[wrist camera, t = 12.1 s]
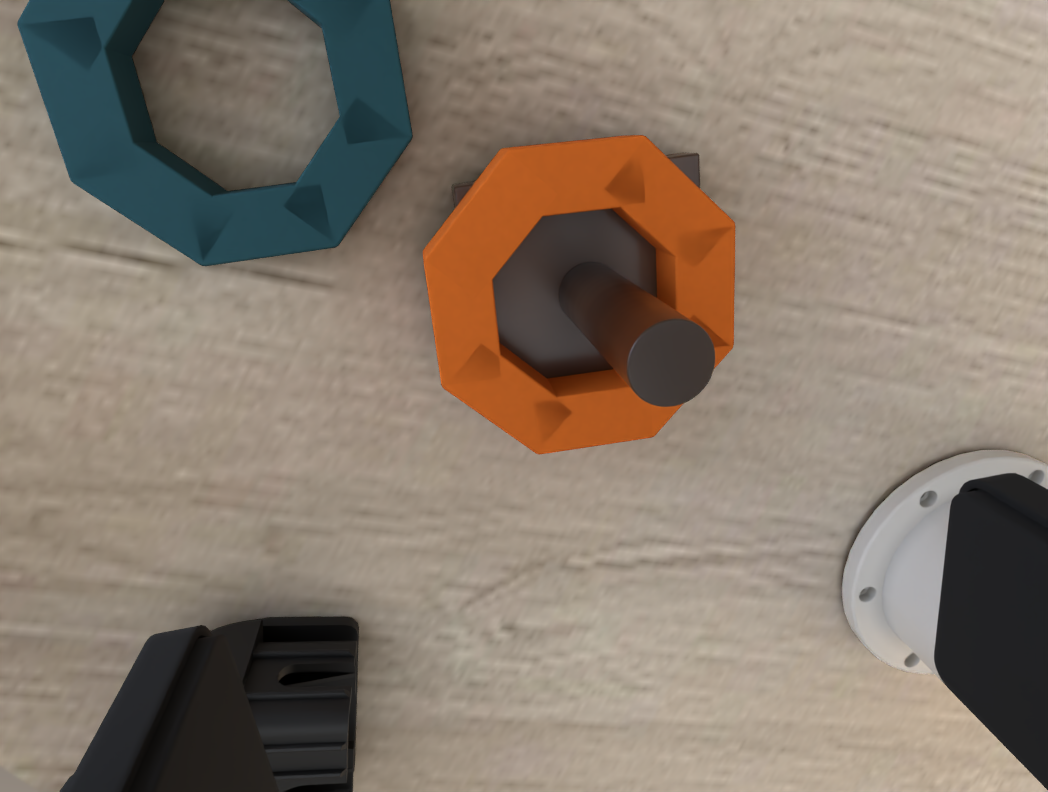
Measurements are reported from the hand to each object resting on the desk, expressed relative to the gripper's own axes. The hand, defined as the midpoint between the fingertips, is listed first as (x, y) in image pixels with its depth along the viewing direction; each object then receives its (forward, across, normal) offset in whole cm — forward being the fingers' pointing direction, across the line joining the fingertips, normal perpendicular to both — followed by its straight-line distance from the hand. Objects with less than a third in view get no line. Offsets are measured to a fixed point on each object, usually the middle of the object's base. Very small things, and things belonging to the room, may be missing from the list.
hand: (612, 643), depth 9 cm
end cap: (+20, +12, +17) cm, 29 cm away
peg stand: (+20, -4, 0) cm, 20 cm away
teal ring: (+20, +7, -9) cm, 23 cm away
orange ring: (+18, -4, 0) cm, 19 cm away
